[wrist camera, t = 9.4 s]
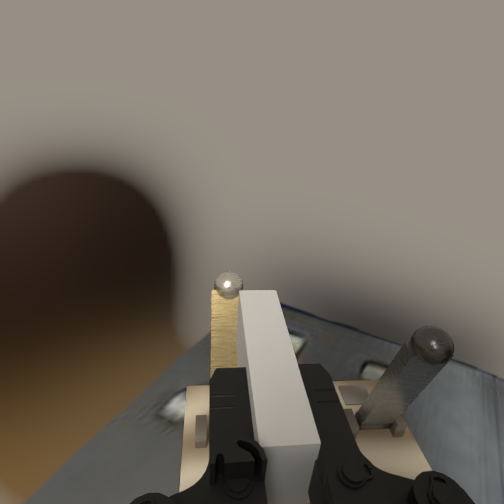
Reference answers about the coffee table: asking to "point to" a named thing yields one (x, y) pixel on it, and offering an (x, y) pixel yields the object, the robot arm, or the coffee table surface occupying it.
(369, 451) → the console
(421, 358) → the lever slate
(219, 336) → the lever brass
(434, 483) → the robot arm
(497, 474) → the coffee table surface
